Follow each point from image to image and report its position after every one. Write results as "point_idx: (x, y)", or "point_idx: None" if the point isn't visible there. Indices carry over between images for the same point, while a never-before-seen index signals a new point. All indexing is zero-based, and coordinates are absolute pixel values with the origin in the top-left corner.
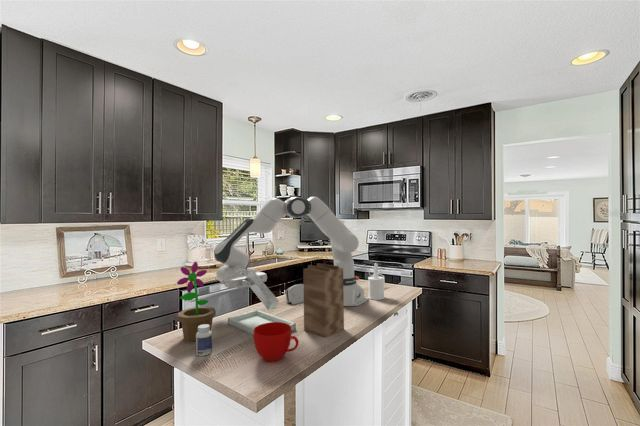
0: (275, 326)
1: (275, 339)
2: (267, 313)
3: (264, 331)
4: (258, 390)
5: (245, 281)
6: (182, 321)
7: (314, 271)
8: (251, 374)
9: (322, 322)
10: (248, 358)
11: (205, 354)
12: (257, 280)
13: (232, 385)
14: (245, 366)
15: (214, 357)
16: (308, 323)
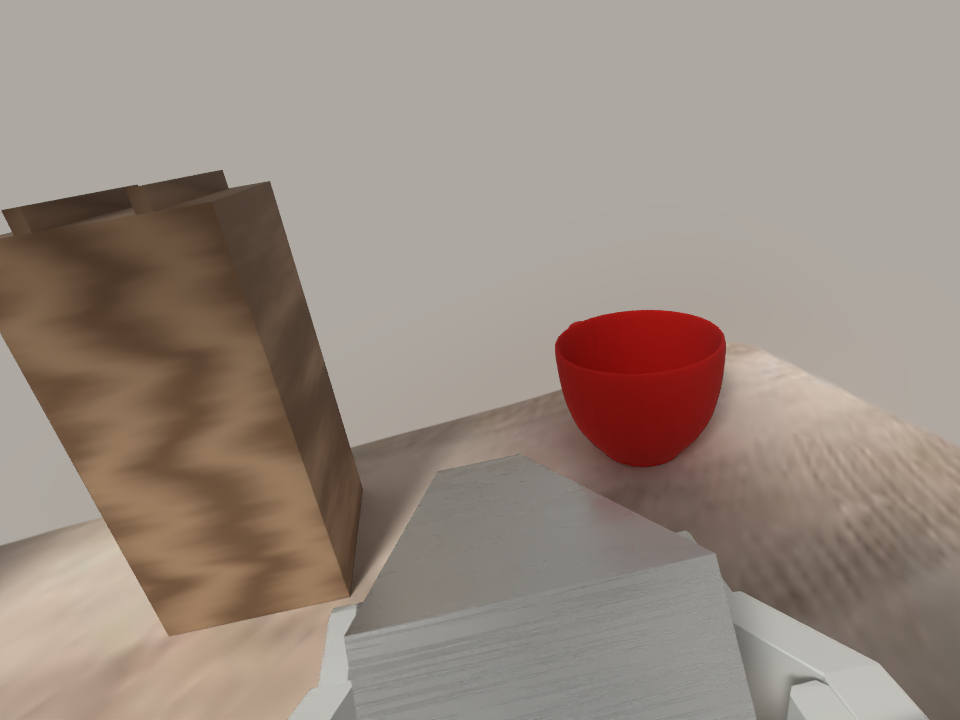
0: (599, 388)
1: (646, 323)
2: None
3: (658, 404)
4: (726, 354)
5: (778, 615)
6: None
7: (251, 193)
8: (740, 397)
9: (344, 440)
10: (746, 467)
11: None
12: (498, 509)
13: (805, 377)
14: (761, 431)
15: (949, 529)
16: (340, 530)
